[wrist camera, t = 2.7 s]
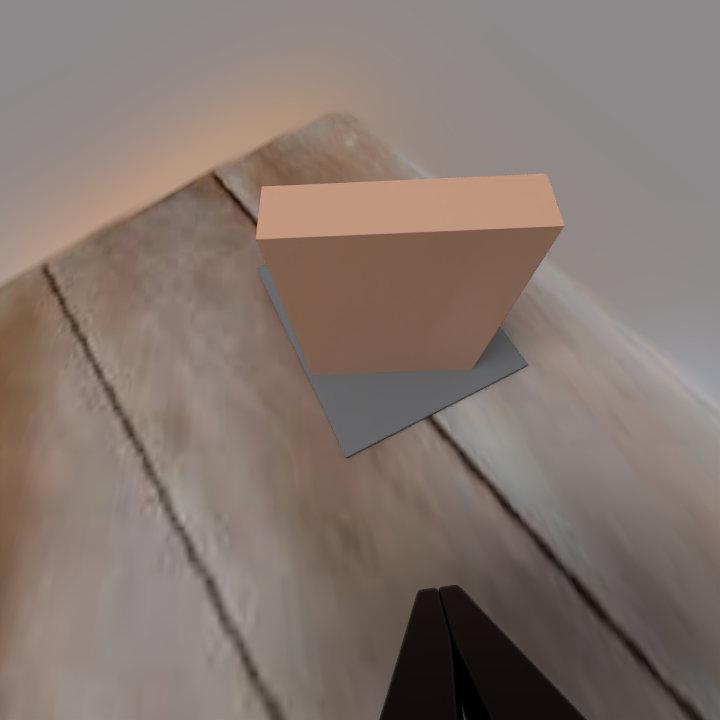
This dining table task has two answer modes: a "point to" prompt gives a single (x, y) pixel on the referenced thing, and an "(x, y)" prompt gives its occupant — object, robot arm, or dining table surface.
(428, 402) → the mat
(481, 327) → the block
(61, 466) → the dining table surface
